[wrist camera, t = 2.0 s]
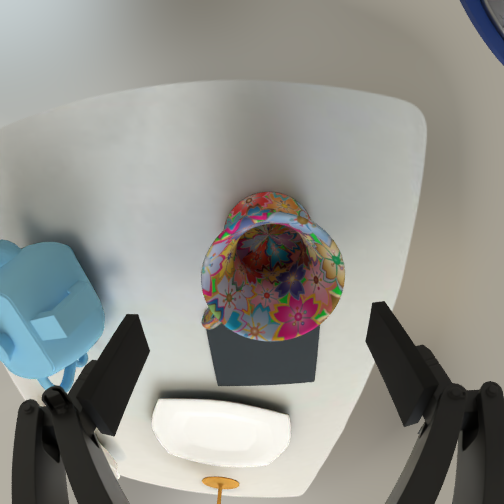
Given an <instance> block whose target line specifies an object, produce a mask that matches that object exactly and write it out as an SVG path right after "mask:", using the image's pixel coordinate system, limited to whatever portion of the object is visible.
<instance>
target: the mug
mask: <svg viewBox="0 0 504 504" xmlns="http://www.w3.org/2000/svg"><path fill="white" fill-rule="evenodd" d="M344 280H345V269H344V263H343V259H342V256H341V253H340V251H339V249H338V247H337V245H336V243H335V242H334V240H333V239H332V238H331V237H330V235H329V234H328V233H327V232H326V231H325V230H323V229H322V228H321V227H320V226H318V225H317V224H315V223H314V222H312V221H311V220H310V217H309V215H308V213H307V212H306V210H305V209H304V208H303V207H302V206H301V205H300V204H299V203H298V202H297V201H296V200H294V199H293V198H291V197H289V196H287V195H284V194H281V193H276V192H262V193H257V194H254V195H251V196H249V197H247V198H245V199H243V200H242V201H240V202H239V203H238V204H237V205H236V206H235V207H234V208H233V209H232V211H231V212H230V214H229V216H228V218H227V220H226V223H225V226H224V231H223V232H222V233H221V234H220V235H219V236H218V237H217V238H216V239H215V241H214V242H213V243H212V245H211V246H210V248H209V250H208V252H207V254H206V256H205V259H204V262H203V266H202V272H201V285H202V291H203V295H204V298H205V300H206V303H207V305H208V308H207V310H206V312H205V314H204V316H203V318H202V325H203V327H205V328H206V329H208V330H211V329H214V328H216V327H217V326H218V325H220V324H221V323H222V324H223V325H225V326H226V327H227V328H229V329H230V330H232V331H233V332H235V333H237V334H239V335H242V336H244V337H247V338H250V339H255V340H260V341H283V340H288V339H292V338H296V337H298V336H301V335H303V334H306V333H308V332H309V331H311V330H313V329H314V328H316V327H317V326H319V325H320V324H321V323H322V322H323V321H324V320H326V319H327V317H328V316H329V315H330V314H331V313H332V311H333V310H334V309H335V307H336V305H337V304H338V302H339V299H340V297H341V294H342V291H343V287H344ZM213 315H214V317H213ZM212 317H213V318H212Z"/></svg>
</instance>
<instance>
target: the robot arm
mask: <svg viewBox="0 0 504 504" xmlns="http://www.w3.org/2000/svg"><path fill="white" fill-rule="evenodd" d="M480 2H481V4H482V7H483V9H484V11H485V12H486V14H487V16H488V18H489V20H490V21H491V23H492V24H493V26H494V27H495V29H496V30H497V32H498V33H499V35H500V36H501V37H502V39H503V40H504V0H480ZM366 343H367V345H368V348H369V350H370V352H371V354H372V356H373V358H374V360H375V362H376V364H377V366H378V369H379V371H380V373H381V375H382V377H383V379H384V382H385V384H386V386H387V388H388V391H389V393H390V395H391V397H392V400H393V402H394V404H395V407H396V409H397V411H398V414H399V416H400V418H401V421H402V423H403V426H404V427H406V426H409V425H412V424H415V423H418V422H419V420H420V419H421V417H422V415H423V417H424V419H425V422H424V424H423V426H422V427H421V429H420V430H419V432H418V434H419V436H418V439H417V441H416V444H415V446H414V448H413V450H412V453H411V455H410V457H409V459H408V461H407V463H406V465H405V467H404V470H403V472H402V473H401V475H400V478H399V479H398V482H397V483H396V485H395V487H394V489H393V490H392V492H391V494H390V496H389V497H388V499H387V501H386V503H385V504H435V501H436V499H437V497H438V495H439V492H440V490H441V487H442V485H443V482H444V480H445V477H446V474H447V472H448V468H449V466H450V463H451V460H452V457H453V454H454V450H455V447H456V444H457V440H458V455H457V470H456V479H455V480H456V481H455V488H454V495H453V502H452V504H504V397H503V391H502V389H501V387H500V386H499V385H498V384H497V383H495V382H491V381H489V382H485V383H484V384H483V385H482V387H481V389H480V390H469V391H468V390H466V389H465V388H464V387H462V386H461V385H459V384H455V383H452V382H451V380H450V379H449V377H448V376H447V374H446V373H445V371H444V370H443V368H442V367H441V365H440V364H439V362H438V361H437V359H436V358H435V356H434V355H433V353H432V352H431V350H429V349H428V348H427V347H425V346H424V345H420V346H415V345H414V344H413V342H412V340H411V339H410V337H409V336H408V334H407V333H406V331H405V330H404V328H403V327H402V326H401V324H400V323H399V321H398V320H397V318H396V317H395V316H394V314H393V313H392V311H391V310H390V308H389V307H388V306H387V304H386V303H385V301H383V302H374V303H372V308H371V314H370V320H369V325H368V331H367V336H366ZM149 352H150V350H149V347H148V344H147V341H146V338H145V335H144V331H143V328H142V325H141V322H140V319H139V315H138V314H127V315H126V316H125V318H124V319H123V321H122V322H121V324H120V325H119V327H118V328H117V330H116V331H115V333H114V334H113V336H112V338H111V339H110V341H109V342H108V344H107V345H106V347H105V349H104V350H103V352H102V353H101V355H100V357H99V358H98V360H91V361H90V362H89V363H88V364H87V365H85V367H84V369H83V370H82V372H81V374H80V375H79V377H78V379H77V380H76V382H75V383H74V385H73V386H72V388H71V390H70V391H69V393H68V395H67V393H66V392H65V390H64V389H63V388H62V387H61V386H52V387H50V388H48V389H47V390H45V391H44V393H43V395H42V401H43V402H44V404H45V405H46V406H44V407H40V406H39V404H38V403H37V401H35V400H32V399H29V400H26V401H25V402H23V403H22V404H21V405H20V408H19V411H18V418H17V423H16V431H15V439H14V449H13V462H12V504H69V500H68V492H67V484H66V473H67V475H68V479H69V482H70V484H71V487H72V490H73V492H74V495H75V497H76V500H77V502H78V504H130V503H129V501H128V500H127V498H126V496H125V494H124V493H123V491H122V489H121V487H120V485H119V483H118V481H117V479H116V477H115V475H114V473H113V471H112V469H111V467H110V465H109V463H108V461H107V459H106V457H105V454H104V452H103V450H102V448H101V445H100V443H99V441H98V438H97V436H96V434H95V433H94V431H95V428H96V427H97V428H98V430H99V431H100V432H101V433H102V434H106V435H111V436H115V434H116V431H117V429H118V426H119V424H120V421H121V419H122V416H123V414H124V411H125V409H126V406H127V404H128V401H129V399H130V397H131V394H132V392H133V389H134V387H135V385H136V382H137V380H138V378H139V375H140V373H141V371H142V368H143V366H144V364H145V361H146V359H147V357H148V355H149ZM65 470H66V472H65Z"/></svg>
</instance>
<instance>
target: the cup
mask: <svg viewBox="0 0 504 504" xmlns="http://www.w3.org/2000/svg"><path fill="white" fill-rule="evenodd" d="M202 482H203V483H204V484H205V485H207V486H210V487H213V488H218V500H217V504H221V494H222V489H233V488H237V487H238V486H239V483H238V482H237V481H235V480H233V479H229V478H224V477H207V478H204V479H203V480H202Z"/></svg>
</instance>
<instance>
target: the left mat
mask: <svg viewBox="0 0 504 504" xmlns="http://www.w3.org/2000/svg"><path fill="white" fill-rule="evenodd" d="M204 314H205V313H204ZM213 317H214V315H213ZM213 317H212V318H213ZM319 328H320V325H319V326H317V327H316V328H314V329H313V330H311V331H309V332H308V333H306V334H303V335H301V336H298V337H296V338H292V339H288V340H283V341H260V340H255V339H250V338H247V337H244V336H242V335H239V334H237V333H235V332H233V331H232V330H230V329H229V328H227V327H226V326H225V325H223V324H222V323H221V324H220V325H218V326H217V327H216V328H214V329H211V330H208V329H206V330H207V335H208V340H209V345H210V350H211V355H212V360H213V365H214V370H215V374H216V379H217V383H218V386H256V385H278V384H293V383H305V382H314V380H315V371H316V361H317V351H318V340H319Z"/></svg>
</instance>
